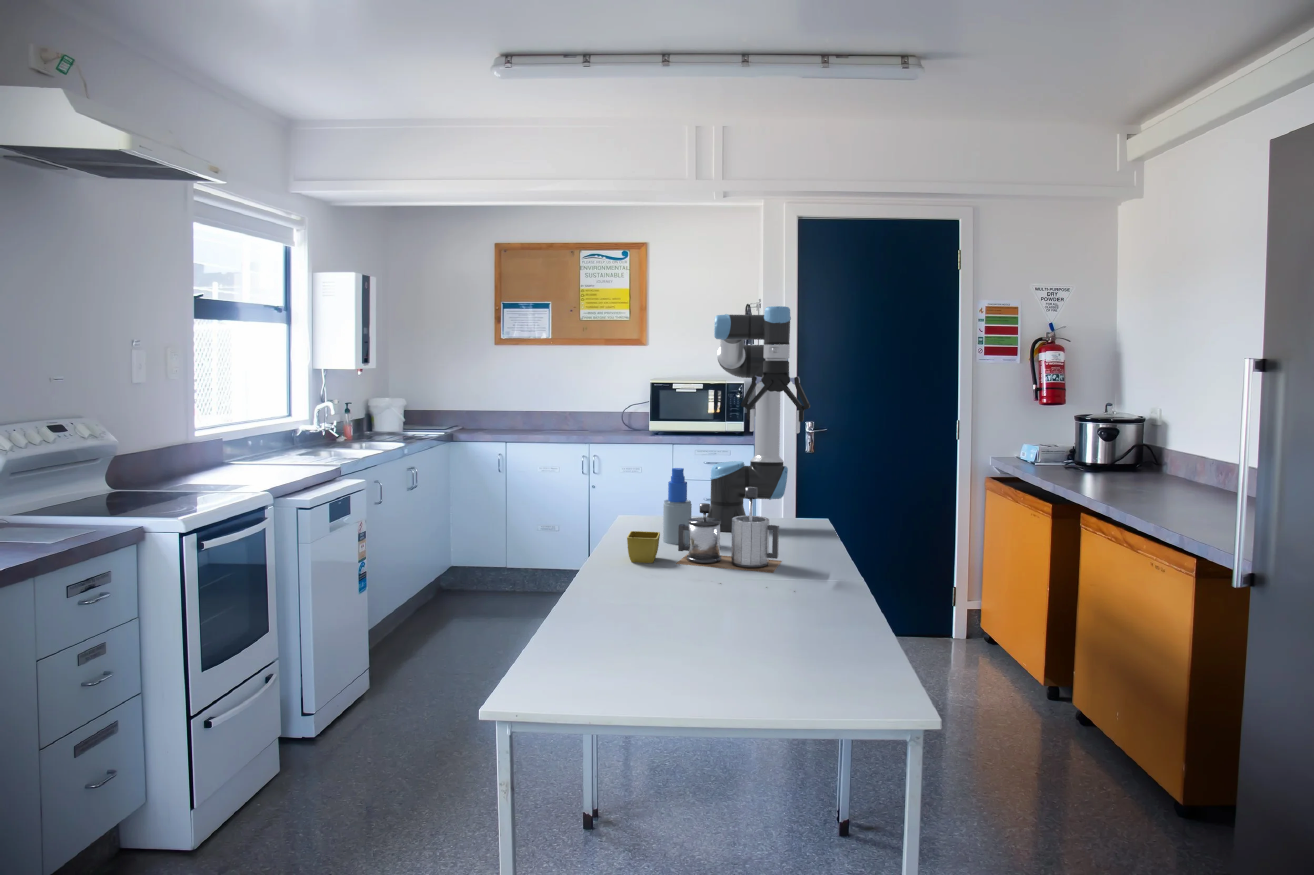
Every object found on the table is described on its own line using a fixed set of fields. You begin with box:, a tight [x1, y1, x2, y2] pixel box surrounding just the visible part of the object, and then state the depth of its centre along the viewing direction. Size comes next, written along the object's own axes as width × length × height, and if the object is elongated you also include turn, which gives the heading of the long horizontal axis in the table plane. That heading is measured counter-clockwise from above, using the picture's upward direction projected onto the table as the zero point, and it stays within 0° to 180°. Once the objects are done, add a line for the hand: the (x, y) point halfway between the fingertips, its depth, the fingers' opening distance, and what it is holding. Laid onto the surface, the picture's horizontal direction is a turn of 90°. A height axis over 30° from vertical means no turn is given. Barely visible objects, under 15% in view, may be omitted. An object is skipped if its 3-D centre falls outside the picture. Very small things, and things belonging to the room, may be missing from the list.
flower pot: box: [626, 530, 661, 564], centre depth 234 cm, size 9×9×9 cm
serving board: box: [675, 552, 783, 574], centre depth 232 cm, size 14×28×2 cm, turn 71°
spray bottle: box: [662, 467, 692, 546], centre depth 257 cm, size 9×9×25 cm
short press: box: [677, 502, 721, 564], centre depth 234 cm, size 10×13×16 cm
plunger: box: [745, 487, 758, 522], centre depth 229 cm, size 7×7×19 cm
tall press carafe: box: [730, 515, 780, 569], centre depth 229 cm, size 10×13×13 cm
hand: (774, 432), depth 238 cm, fingers open, 13 cm apart
